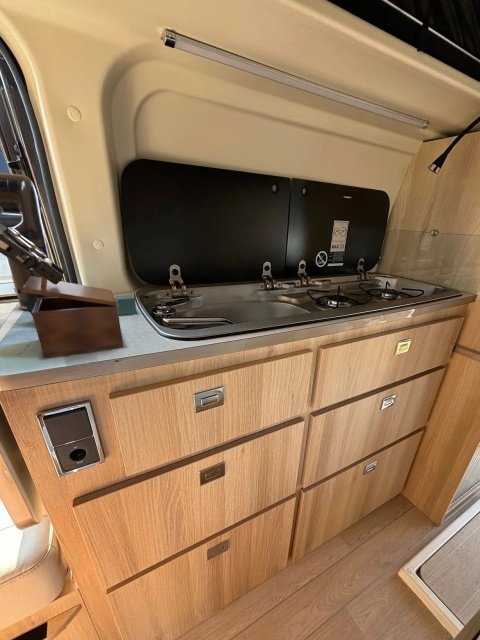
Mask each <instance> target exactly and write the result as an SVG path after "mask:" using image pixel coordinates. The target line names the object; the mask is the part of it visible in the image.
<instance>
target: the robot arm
mask: <svg viewBox="0 0 480 640" xmlns="http://www.w3.org/2000/svg"><path fill="white" fill-rule="evenodd" d="M2 215H11V216H12V215H13V216H21V222H19V223H18V224H17V225H15V226H13V227H12V226H10V227H6V226H5V225H3V224H2V223H0V254H2V255H3V256H4V257H5V259H6V261H7V265H8V268H9V272H10V276H11V279H12V282H13V285H14V287H13V290H14V293H15V294H16V297H17V300H18V304H19V309H21V310H25V311H29V310H28V309H27V307H26V306H25V302H27V301H33V300H37V299H38V298H48V297H52V296H46V295H39V294H32V293H25V292H23V287H24V286H25V284H26V283H27V281H28V280H29V278H30V277H31V276H33V277H39V278H41V276H43V277H44V278H46V279H47V280H49V281H50V282H51V283H53V284H58V283H59V282H60V281H63V279H64V274H65V270H64V269H63V268H61V267H60V266H59V265H58V264H56V263H55V262H53V261H52V266H50V265H48V264H47V263H46V262H43V260H42V259H43V258H48V259H50V255H49V250H48V247H47V243H46V238H45V231H44V226H43V221H42V216H41V210H40V203H39V198H38V194H37V191H36V188H35V184H34V183H33V181H32V180H31V178H29V177H28V176H27V175H24V174H18V173H17V174H16V173H7V172H0V217H1V216H2ZM42 262H43V263H42Z"/></svg>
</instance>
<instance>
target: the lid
mask: <svg viewBox="0 0 480 640" xmlns="http://www.w3.org/2000/svg"><path fill="white" fill-rule="evenodd" d="M42 260H43V262H46V263H47V264H48V265H50V266H52V262H53V261H52V260H51V259H50V258H49V259H48V258H43V259H42ZM43 262H42V263H43ZM23 292H25V293H32V294H39V295H46V296H52V297H59V298H66V299H73V300H80V301H87V302H94V303H100V304H107V305H114V306H117V301H116V299H115V295H114V293H113V291H112V290H111V289H107V288H102V287H96V286H90V285H84V284H79V283H72V282H67V281H63V280H61V281H60V282H59V283H58V284H53V283H51V282H50V281H49V280H47V279H46V278H44V277H43V276H41V278H39V277H33V276H31V277H30V278H29V280H28V281H27V283H26V284H25V286H24V287H23Z"/></svg>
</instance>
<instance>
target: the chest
mask: <svg viewBox="0 0 480 640" xmlns="http://www.w3.org/2000/svg"><path fill="white" fill-rule="evenodd" d="M31 317H32V319H33V323H34V326H35V327H34V328H35V331H36V334H37V337H38V341H39V344H40V348H41V352H42V356H43V359H49V358H56V357H63V356H69V355H71V356H72V355H76V354H85V353H91V352H97V351H103V350H112V349H119V348H124V342H123V341H124V340H123V334H122V330H121V329H122V328H121V322H120V315H119V313H118V308H117V306H114V305H107V304H100V303H94V302H87V301H80V300H73V299H66V298H59V297H48V298H38V299H37V302H36V304H35V307H34V309H33V312H32V315H31Z"/></svg>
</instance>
